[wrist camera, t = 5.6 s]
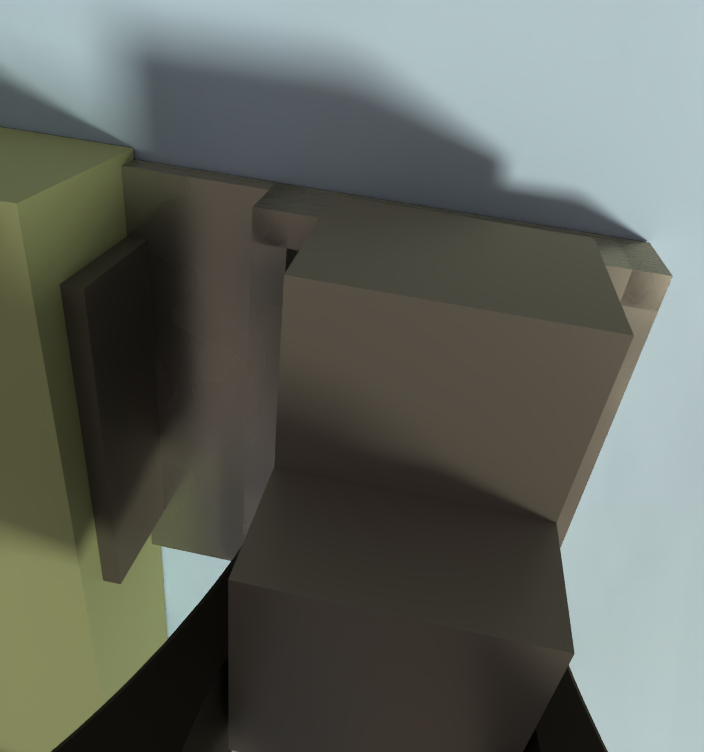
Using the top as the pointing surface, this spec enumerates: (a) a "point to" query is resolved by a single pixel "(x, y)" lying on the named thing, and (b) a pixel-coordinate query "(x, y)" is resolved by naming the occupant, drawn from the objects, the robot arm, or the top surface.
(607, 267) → the grey rectangular frame
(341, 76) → the top surface
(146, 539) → the deck
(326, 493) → the stepped block
